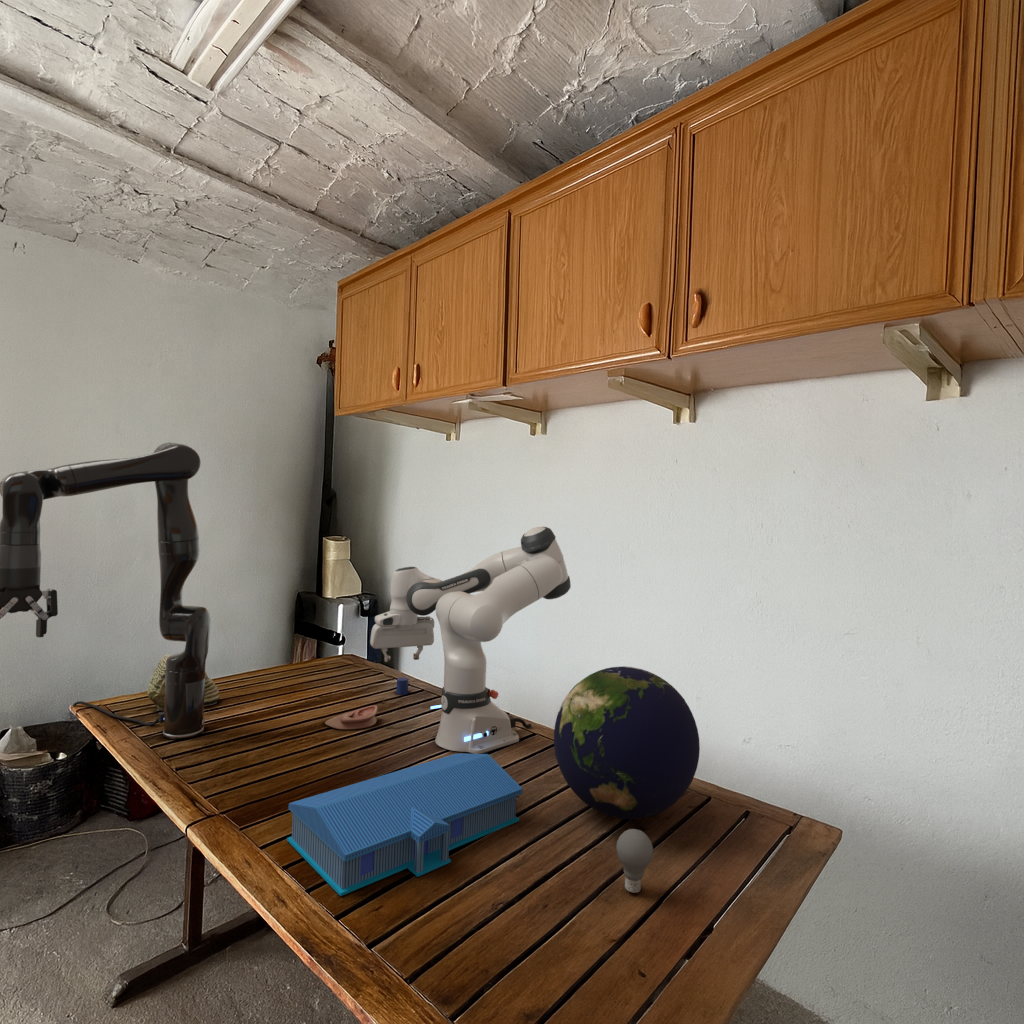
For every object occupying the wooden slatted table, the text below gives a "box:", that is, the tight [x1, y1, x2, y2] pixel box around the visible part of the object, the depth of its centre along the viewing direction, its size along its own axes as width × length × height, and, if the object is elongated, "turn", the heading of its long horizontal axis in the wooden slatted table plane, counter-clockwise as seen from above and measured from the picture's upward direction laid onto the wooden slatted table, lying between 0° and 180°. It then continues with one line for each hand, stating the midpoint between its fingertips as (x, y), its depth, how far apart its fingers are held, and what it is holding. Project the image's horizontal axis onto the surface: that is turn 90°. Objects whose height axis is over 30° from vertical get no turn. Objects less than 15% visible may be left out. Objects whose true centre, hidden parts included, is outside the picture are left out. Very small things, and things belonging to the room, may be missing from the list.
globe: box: [553, 665, 700, 820], centre depth 133 cm, size 30×30×30 cm
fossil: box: [147, 654, 221, 712], centre depth 185 cm, size 9×18×15 cm, turn 132°
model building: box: [286, 752, 524, 897], centre depth 121 cm, size 39×24×10 cm, turn 132°
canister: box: [396, 677, 409, 696], centre depth 206 cm, size 4×4×5 cm
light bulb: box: [615, 828, 654, 894], centre depth 106 cm, size 6×6×10 cm
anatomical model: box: [324, 704, 378, 730], centre depth 177 cm, size 13×4×12 cm
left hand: (16, 639), depth 137 cm, fingers open, 8 cm apart
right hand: (401, 660), depth 202 cm, fingers open, 8 cm apart
